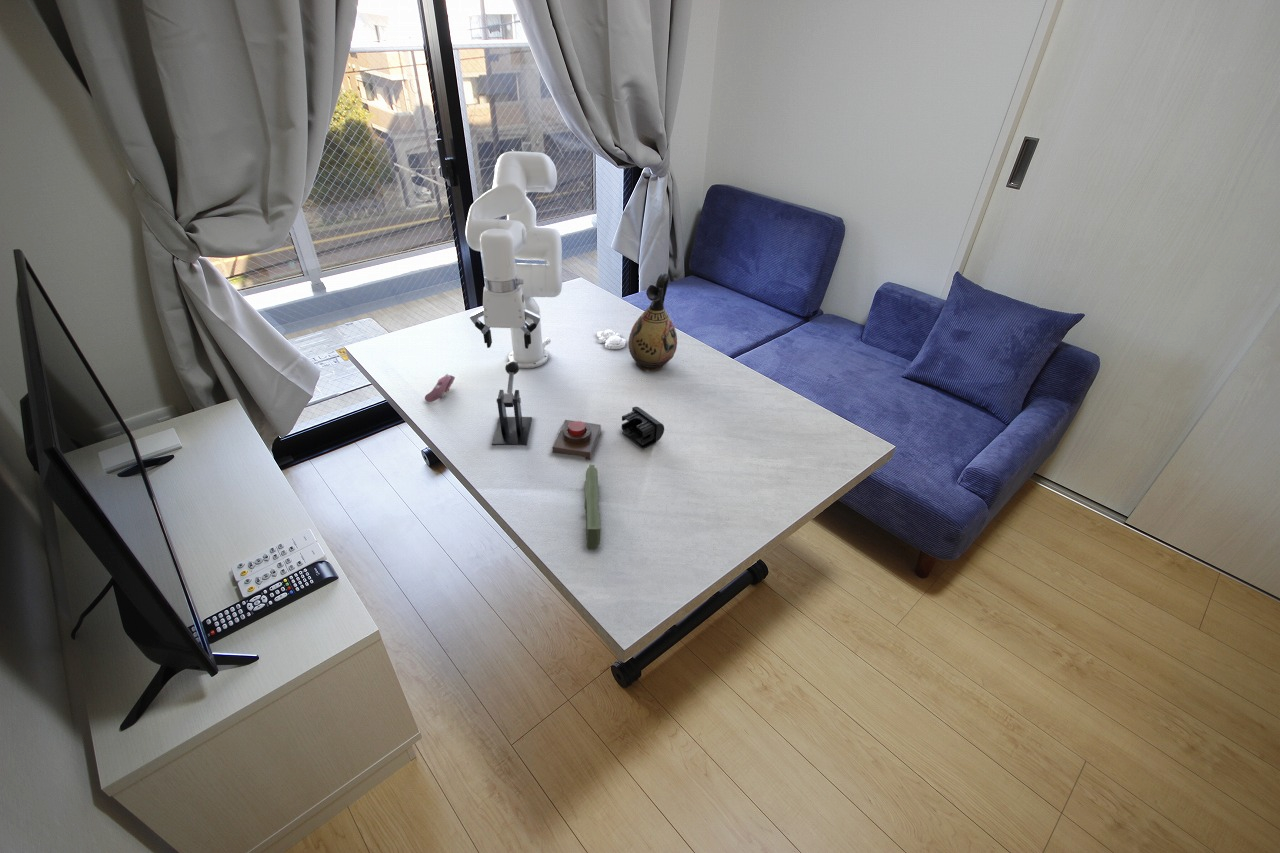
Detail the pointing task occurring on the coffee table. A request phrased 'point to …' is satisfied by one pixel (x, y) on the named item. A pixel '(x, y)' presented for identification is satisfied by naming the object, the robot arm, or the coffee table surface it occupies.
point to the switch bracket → (511, 423)
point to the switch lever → (510, 383)
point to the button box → (577, 440)
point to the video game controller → (440, 388)
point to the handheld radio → (592, 509)
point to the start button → (576, 428)
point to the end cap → (642, 428)
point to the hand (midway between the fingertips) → (508, 345)
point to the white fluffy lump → (611, 339)
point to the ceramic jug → (653, 331)
